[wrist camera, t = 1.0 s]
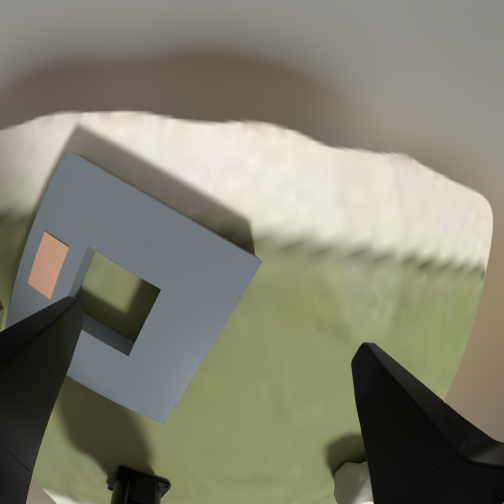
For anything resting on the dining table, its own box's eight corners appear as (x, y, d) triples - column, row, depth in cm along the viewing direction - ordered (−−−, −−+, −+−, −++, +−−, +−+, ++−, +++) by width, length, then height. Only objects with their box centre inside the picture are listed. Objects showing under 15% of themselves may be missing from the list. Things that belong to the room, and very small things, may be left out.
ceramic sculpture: (364, 499, 19) (455, 451, 22) (330, 450, 27) (418, 420, 31) (336, 537, 20) (422, 497, 24) (312, 495, 29) (394, 466, 32)
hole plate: (165, 406, 23) (163, 424, 20) (18, 321, 19) (4, 331, 17) (255, 255, 22) (262, 261, 20) (79, 155, 19) (66, 149, 16)
